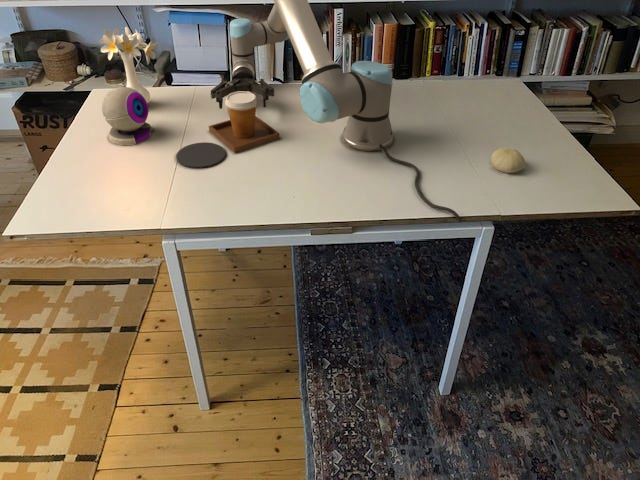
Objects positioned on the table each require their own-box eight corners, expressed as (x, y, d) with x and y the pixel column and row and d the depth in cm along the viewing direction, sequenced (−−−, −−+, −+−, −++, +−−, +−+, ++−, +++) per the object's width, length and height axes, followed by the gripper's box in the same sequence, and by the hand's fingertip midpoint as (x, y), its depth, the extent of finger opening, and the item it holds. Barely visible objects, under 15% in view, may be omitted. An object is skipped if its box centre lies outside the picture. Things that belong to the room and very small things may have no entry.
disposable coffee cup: (265, 131, 169) (263, 95, 161) (246, 144, 162) (243, 107, 155) (241, 124, 173) (238, 88, 165) (222, 136, 166) (217, 99, 159)
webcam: (136, 148, 161) (126, 100, 152) (100, 141, 164) (87, 94, 155) (160, 128, 171) (151, 83, 161) (125, 122, 174) (114, 77, 164)
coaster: (234, 158, 156) (233, 157, 156) (189, 173, 150) (189, 171, 150) (211, 139, 165) (211, 138, 165) (168, 153, 159) (168, 151, 159)
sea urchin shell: (509, 173, 147) (499, 146, 148) (491, 181, 155) (481, 155, 155) (534, 165, 151) (524, 138, 151) (515, 173, 158) (506, 147, 158)
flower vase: (161, 115, 178) (146, 38, 162) (106, 113, 179) (86, 36, 163) (172, 99, 188) (160, 24, 172) (120, 96, 189) (103, 22, 173)
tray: (279, 138, 166) (279, 133, 165) (234, 153, 159) (234, 147, 158) (252, 118, 177) (252, 113, 175) (209, 131, 169) (208, 126, 168)
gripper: (280, 86, 188) (283, 113, 172) (207, 88, 186) (203, 116, 170) (279, 65, 183) (282, 90, 167) (204, 67, 181) (200, 93, 165)
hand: (242, 103), depth 168 cm, fingers open, 13 cm apart
